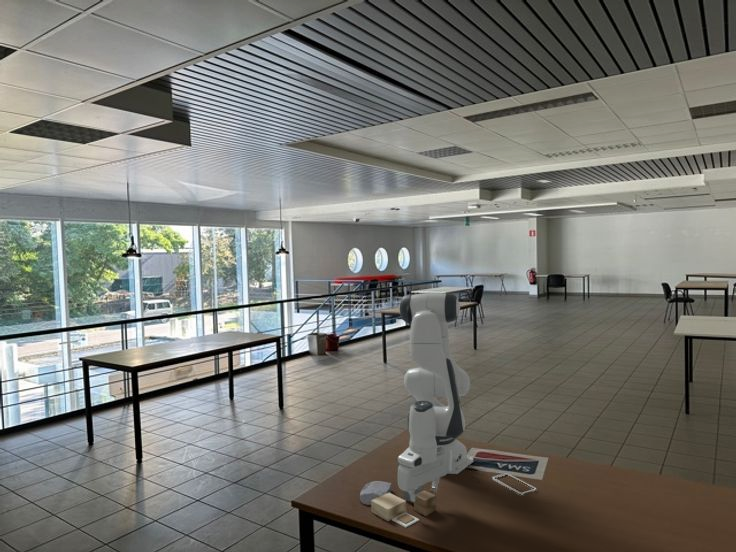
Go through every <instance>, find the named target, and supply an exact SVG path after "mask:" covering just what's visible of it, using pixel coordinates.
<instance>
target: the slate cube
mask: <svg viewBox="0 0 736 552" xmlns="http://www.w3.org/2000/svg"><path fill="white" fill-rule="evenodd" d="M422 491H424V485H422V486H419V487H417V488H415V491H414V493H415V494H418V493H420V492H422ZM402 495H403V497H402V499H403V500H405V501H406V502H408V503H412V504H414V502H412V501H411V500H410V494H409V492H406V491H403V490H402Z"/></svg>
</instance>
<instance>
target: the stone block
mask: <svg viewBox="0 0 736 552" xmlns="http://www.w3.org/2000/svg"><path fill="white" fill-rule="evenodd" d="M387 493H391V494H392V483H391V482H386V481H381V480H375V481H370V482H367V483H365V485H364V486H363V487H362V489H361V491H360V494H359V500H360V502H361V504H362V505H367V506H371V500H373V499H376V498H378V497H380V496H382V495H385V494H387Z"/></svg>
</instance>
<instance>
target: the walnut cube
mask: <svg viewBox="0 0 736 552" xmlns="http://www.w3.org/2000/svg"><path fill="white" fill-rule="evenodd" d="M415 495H417V501H415V502H414V503H413V510H414V511H415V512H417V513H419V514H421V515H422V516H425V517H426V516H428V515H430V514H432V513H434V512H436V511H437V501H436V500H437V499H436V495H435V494H434V493H432V492H429V491H427V490H423V491H422V492H420V493H418V494H415Z"/></svg>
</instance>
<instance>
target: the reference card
mask: <svg viewBox="0 0 736 552" xmlns="http://www.w3.org/2000/svg"><path fill="white" fill-rule="evenodd" d="M391 521H393V522H394V523H396V524H398V525H400V526H401V527H404V528H408V527H410V526H411V525H413V524H415V523H417V522H419V521H420V519H419V518H417V517H416V516H413V515H411V514H410V513H408V512H407V511H406V512H405V513H403V514H401V515H399V516H397V517H395V518H393V519H392V520H391Z"/></svg>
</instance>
